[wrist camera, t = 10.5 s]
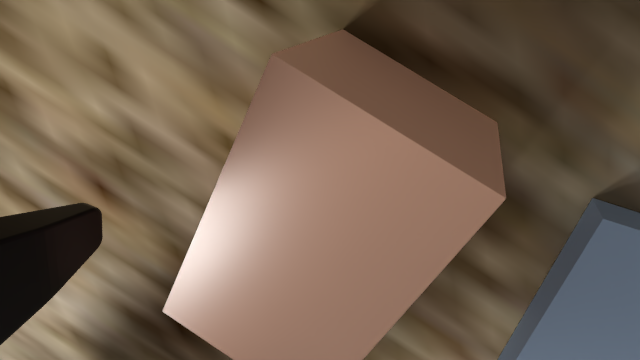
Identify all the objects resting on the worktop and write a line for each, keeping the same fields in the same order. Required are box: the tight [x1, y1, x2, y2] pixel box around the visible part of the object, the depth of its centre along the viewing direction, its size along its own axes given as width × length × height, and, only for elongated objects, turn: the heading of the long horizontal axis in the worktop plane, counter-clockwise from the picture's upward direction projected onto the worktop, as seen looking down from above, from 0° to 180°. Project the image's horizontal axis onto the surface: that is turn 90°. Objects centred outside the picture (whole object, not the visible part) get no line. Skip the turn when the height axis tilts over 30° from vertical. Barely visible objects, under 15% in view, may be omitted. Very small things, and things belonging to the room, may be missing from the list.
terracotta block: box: [162, 29, 506, 360], centre depth 12 cm, size 8×5×5 cm, turn 153°
